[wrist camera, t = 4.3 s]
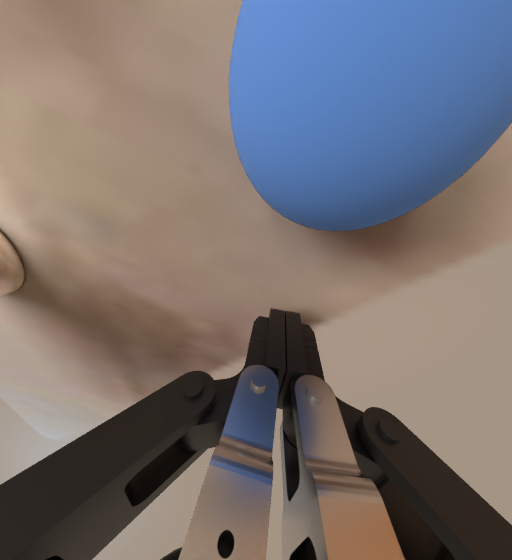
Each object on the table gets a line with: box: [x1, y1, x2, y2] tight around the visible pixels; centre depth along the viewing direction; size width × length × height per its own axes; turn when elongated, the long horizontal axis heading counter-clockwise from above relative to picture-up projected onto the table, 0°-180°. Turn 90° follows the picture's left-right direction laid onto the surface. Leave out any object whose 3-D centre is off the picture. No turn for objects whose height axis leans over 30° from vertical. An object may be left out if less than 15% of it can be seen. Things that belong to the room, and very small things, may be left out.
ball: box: [229, 0, 512, 231], centre depth 5 cm, size 6×6×6 cm
